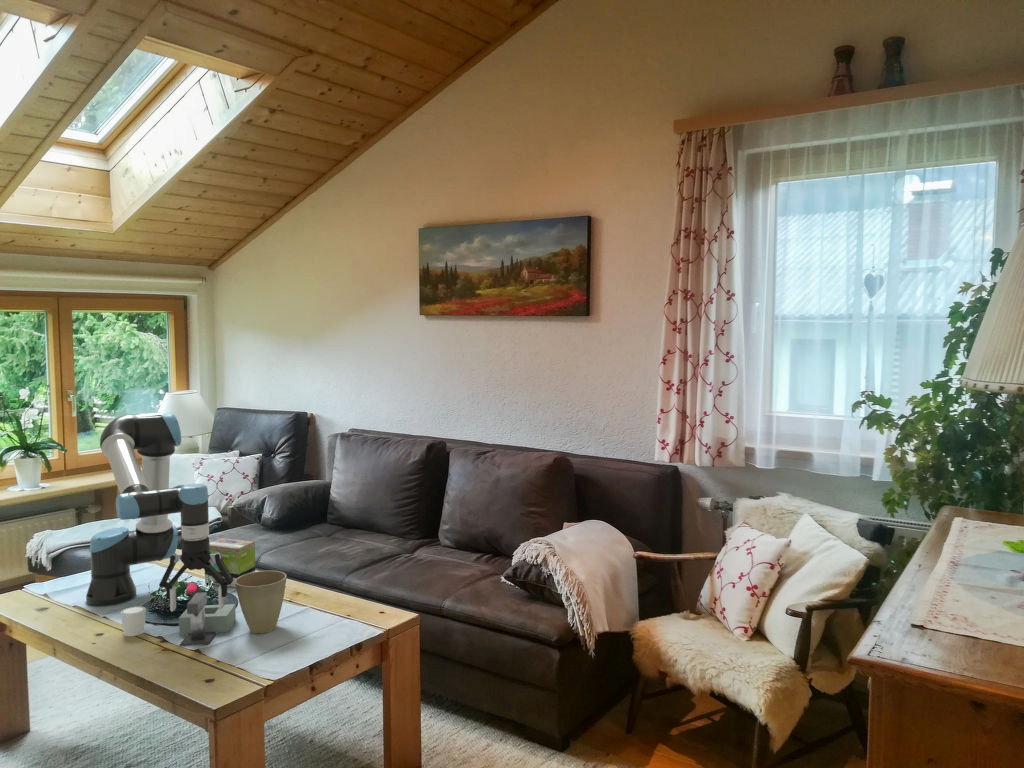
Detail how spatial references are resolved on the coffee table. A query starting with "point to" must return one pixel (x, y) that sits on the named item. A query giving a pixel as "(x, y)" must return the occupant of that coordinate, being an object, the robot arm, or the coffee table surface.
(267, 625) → the plant pot
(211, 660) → the coffee table surface
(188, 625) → the block
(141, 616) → the white cylinder
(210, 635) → the rubber mat
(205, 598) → the chuck key
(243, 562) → the tea box
